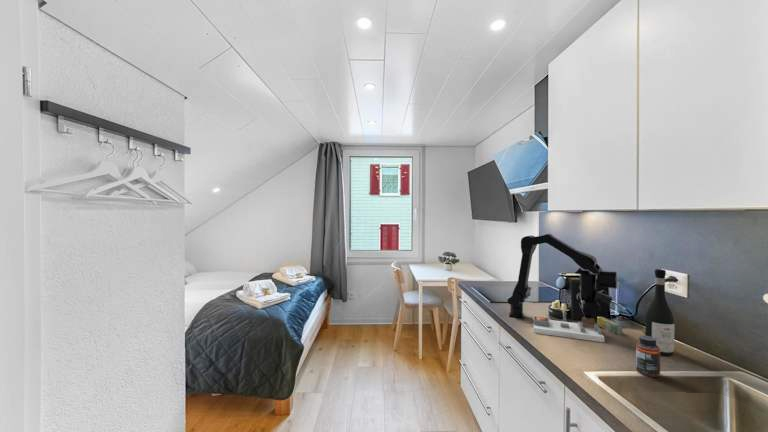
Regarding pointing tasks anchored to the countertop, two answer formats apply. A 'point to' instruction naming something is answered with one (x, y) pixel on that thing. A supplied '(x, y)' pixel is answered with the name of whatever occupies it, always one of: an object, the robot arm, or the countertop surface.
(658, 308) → the wine bottle
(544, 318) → the push button
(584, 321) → the paddle
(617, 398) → the countertop surface
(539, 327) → the control panel
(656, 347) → the supplement bottle
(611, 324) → the medication box
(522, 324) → the countertop surface
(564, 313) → the toggle lever
